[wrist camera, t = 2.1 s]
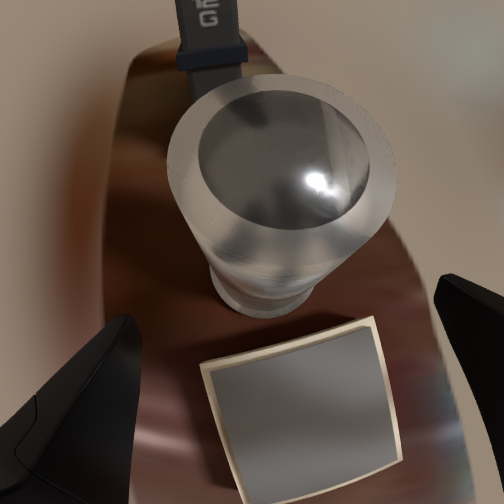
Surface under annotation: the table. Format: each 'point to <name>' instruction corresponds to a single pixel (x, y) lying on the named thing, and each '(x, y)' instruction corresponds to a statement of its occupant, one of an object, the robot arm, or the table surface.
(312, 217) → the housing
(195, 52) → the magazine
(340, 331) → the stand
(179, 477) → the table surface
